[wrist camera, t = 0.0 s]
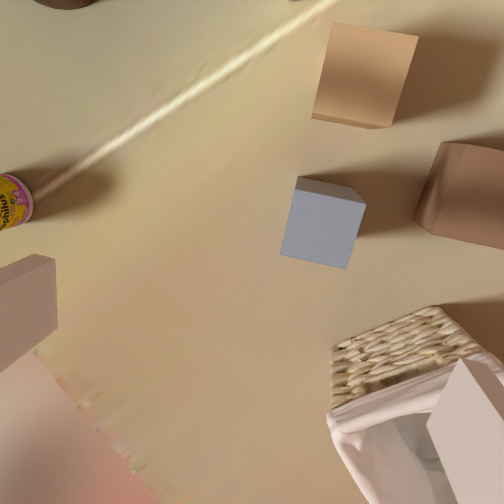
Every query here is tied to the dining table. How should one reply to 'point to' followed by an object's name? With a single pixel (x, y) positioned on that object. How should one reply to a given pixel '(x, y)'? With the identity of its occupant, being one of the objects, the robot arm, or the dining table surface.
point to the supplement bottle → (14, 202)
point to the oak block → (363, 76)
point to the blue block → (323, 223)
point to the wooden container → (64, 3)
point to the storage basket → (397, 404)
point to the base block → (465, 195)
